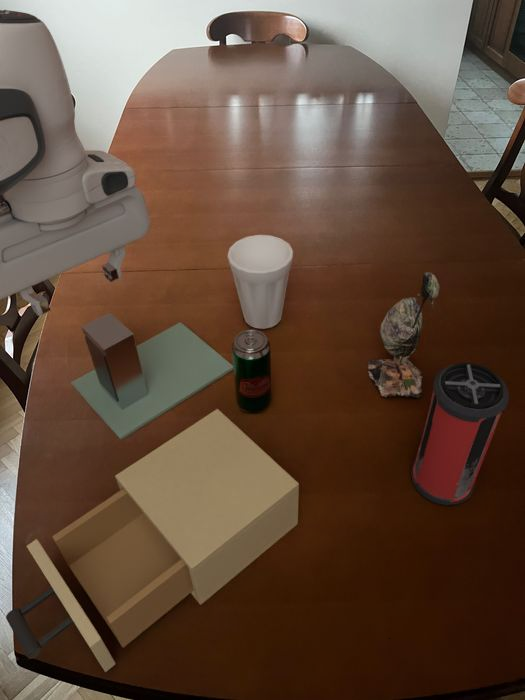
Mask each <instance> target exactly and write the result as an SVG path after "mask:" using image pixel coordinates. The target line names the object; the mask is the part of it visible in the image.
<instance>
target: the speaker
mask: <svg viewBox="0 0 525 700" xmlns="http://www.w3.org/2000/svg"><path fill="white" fill-rule="evenodd" d="M432 387H433V390H432V395H431V398H430V402H429V403H430V404H429V407H428V412H427V415H426V419H425V423H424V427H423V431H422V435H421V439H420V443H419V446H418V450H417V452H416V457H415V459H414V461H413V464H412V467H411V471H410V472H411V474H410V477H411V481H412V483H413V486H414V487H415V489H416V490H417V491H418V493H419V494H421V495H422V496H423V497H424V498H426V499H427V500H429V501H431V502H433V503H436V504H440V505H444V506H445V505H446V506H453V505H458V504H460V503H463V502H465V501H466V500H468V499H469V498H470V497H471V495H472V494H473V492H474V489H475V486H476V482H477V477H478V475H479V472H480V470H481V467H482V465H483V462H484V459H485V456H486V454H487V452H488V449H489V446H490V443H491V441H492V439H493V437H494V434H495V431H496V428H497V426H498V423H499V420H500V418H501V415H502V413H504V412H505V410H506V408H507V406H508V403H509V400H510V398H509V397H510V393H509V389H508V387H507V384H506V383H505V382H504V380H503V379H502V378H501V377H500V376H499V375H498V374H496V373H495V372H494V371H492V370H491V369H489V368H488V367H486V366H483V365H480V364H477V363H473V362H461V363H453V364H450V365H446V366H445V367H443V368H441V369H440V370H439V371H438V372H437V373H436V375H435V377H434V380H433V383H432Z"/></svg>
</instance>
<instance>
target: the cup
mask: <svg viewBox="0 0 525 700" xmlns="http://www.w3.org/2000/svg"><path fill="white" fill-rule="evenodd" d="M293 257H294V250H293V248H292V246H291V244H290V243H289V242H288V241H285V240H284V239H282V238H281V237H278V236H275V235H271V234H255V235H248V236H245V237H243V238H240V239H238V240H236V241H235V242H234V243H233V244H232V245H231V246H230V247H229V249H228V252H227V261H228V264H229V268H230V269H231V274H232V276H233V277H232V278H233V281H234V284H235V288H236V292H237V297H238V299H239V305H240V308H241V312H242V316H243V319H244V321H245V323H246V324H248V326H249V327H251V328H254V329H261V330H262V329H270V328H273V327H274V326H276V325H278V324H279V323H280V321H281V320H282V317H283V316H282V315H283V309H284V304H285V298H286V292H287V287H288V283H289V282H288V281H289V275H290V270H291V269H292V263H293Z"/></svg>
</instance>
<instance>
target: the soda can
mask: <svg viewBox="0 0 525 700" xmlns="http://www.w3.org/2000/svg"><path fill="white" fill-rule="evenodd" d="M231 352H232V353H231V356H232V365H233V367H234V369H233V379H234V388H235V399H236V400H235V401H236V405H237V406H238V407H239V409H240V410H242V411H245V412H247V413H252V414H254V413H260V412H263V411H265V410H266V409H268V407H269V406H270V405H271V403H272V400H273V399H272V398H273V396H272V394H273V393H272V359H271V358H272V357H271V356H272V355H271V354H272V353H271V343H270V341H269V340H268V337H267V336H266V334H265V333H264V332H262V331H259V330H256V329H247V330H242V331H240V332H239V333H238V334H237V335H235V338H234V340H233V342H232V345H231Z"/></svg>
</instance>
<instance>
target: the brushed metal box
mask: <svg viewBox="0 0 525 700" xmlns="http://www.w3.org/2000/svg"><path fill="white" fill-rule="evenodd" d="M81 330H82V333H83V337H84V338H85V343H86V346H87V349H88V352H89V355H90V357H91V361H92V364H93V367H94V369H95V370H96V374H97V377H98V380H99V383H100V386H101V388H102V389H103V390H104V391H105V392H106V393H107V394H108V395H109V396H110V397H111V399H112V400H113V401H114V402H115V403H116V404H117V405H118V406H119V407H120V408H121V409H122V410H123V409H125V408H127V407H128V406H130V405H132V404H133V403H135V402H137V401H138V400H140V399H142V398H143V397H145V396H147V395H148V392H147V388H146V384H145V380H144V376H143V372H142V368H141V364H140V359H139V355H138V351H137V347H136V346H137V344H136V339H135V335H134V333H133V331H131V330H130V329H129V328H128V327H127V326H125V324H123V323H122V322H121V321H120V320H119V319H118V318H117V317H115V315H114V314H113V313H111V312H108V313H106V314H104V315H102V316H100V317H98V318H95V319H93V320H92V321H90V322H88V323H86V324H84V325H82V326H81Z"/></svg>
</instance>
